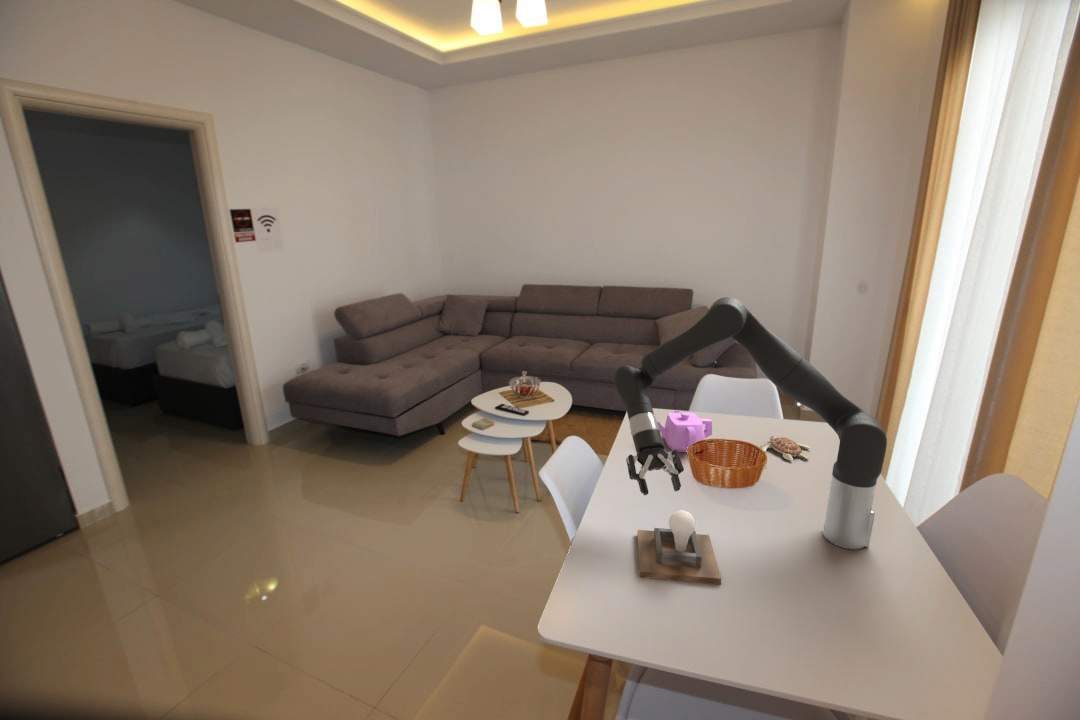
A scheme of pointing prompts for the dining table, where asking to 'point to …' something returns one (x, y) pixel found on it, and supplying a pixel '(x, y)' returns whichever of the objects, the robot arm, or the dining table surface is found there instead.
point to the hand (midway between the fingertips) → (662, 492)
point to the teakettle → (684, 430)
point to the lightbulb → (681, 528)
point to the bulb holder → (677, 557)
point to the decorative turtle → (786, 447)
